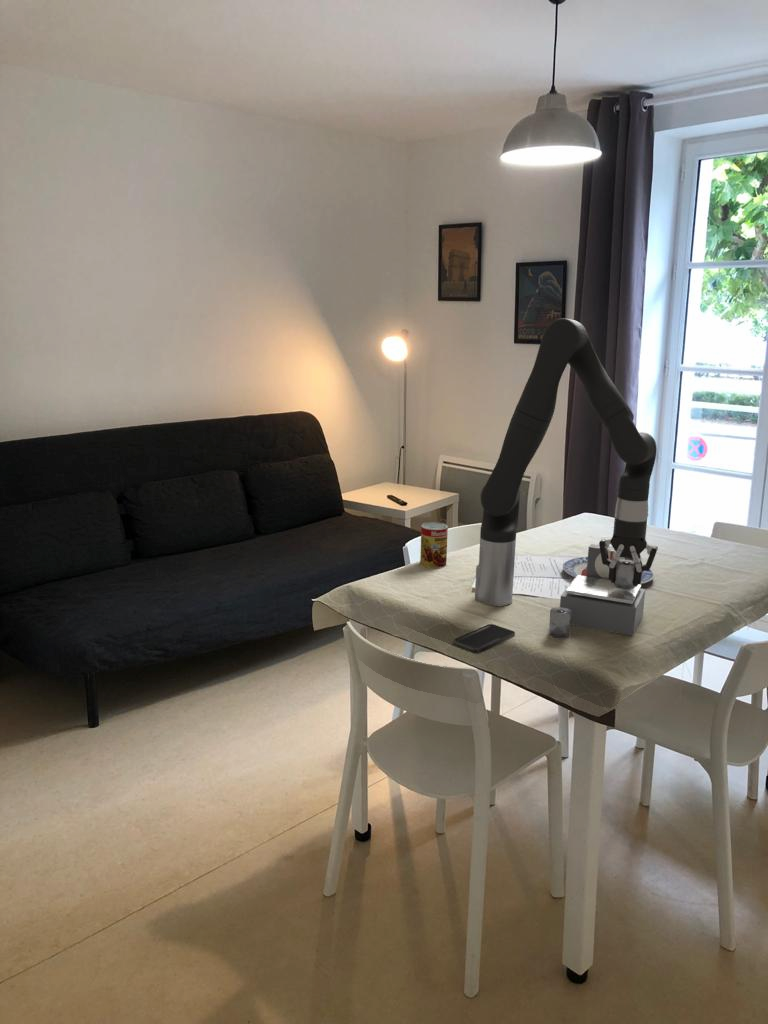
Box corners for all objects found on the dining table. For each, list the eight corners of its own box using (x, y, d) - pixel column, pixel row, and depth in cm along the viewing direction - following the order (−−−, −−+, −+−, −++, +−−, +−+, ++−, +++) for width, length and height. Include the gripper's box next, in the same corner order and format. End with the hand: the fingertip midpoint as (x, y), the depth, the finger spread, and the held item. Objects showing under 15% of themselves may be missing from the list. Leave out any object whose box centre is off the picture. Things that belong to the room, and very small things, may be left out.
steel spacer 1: (546, 636, 196) (548, 612, 195) (551, 629, 201) (553, 605, 199) (567, 640, 194) (569, 616, 193) (572, 632, 199) (574, 609, 197)
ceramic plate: (658, 595, 226) (659, 585, 225) (562, 587, 231) (563, 577, 230) (648, 566, 250) (649, 557, 250) (562, 560, 255) (562, 551, 255)
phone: (451, 640, 191) (490, 623, 202) (451, 644, 191) (490, 627, 202) (478, 650, 186) (517, 632, 196) (478, 655, 186) (517, 636, 197)
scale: (558, 622, 205) (563, 560, 201) (574, 599, 221) (579, 542, 217) (633, 635, 197) (639, 572, 194) (644, 611, 213) (650, 552, 209)
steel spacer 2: (611, 587, 201) (614, 563, 200) (615, 581, 206) (617, 558, 204) (633, 590, 199) (635, 566, 198) (636, 584, 204) (638, 561, 202)
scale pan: (565, 593, 203) (566, 590, 203) (577, 577, 215) (577, 575, 215) (632, 604, 197) (632, 600, 197) (641, 587, 208) (641, 584, 208)
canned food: (436, 570, 243) (438, 530, 240) (415, 564, 248) (416, 526, 245) (451, 563, 249) (452, 525, 246) (429, 558, 254) (431, 520, 251)
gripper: (597, 516, 198) (591, 583, 202) (660, 523, 192) (652, 593, 196) (603, 509, 204) (598, 574, 208) (664, 516, 198) (657, 583, 203)
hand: (624, 583), depth 202 cm, fingers closed on steel spacer 2, 5 cm apart
